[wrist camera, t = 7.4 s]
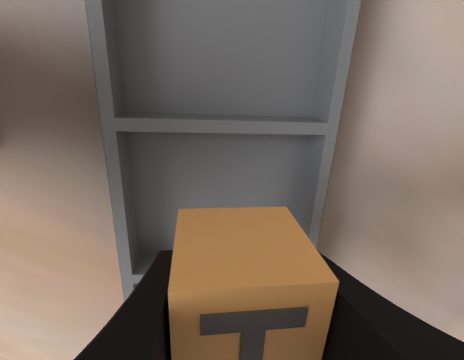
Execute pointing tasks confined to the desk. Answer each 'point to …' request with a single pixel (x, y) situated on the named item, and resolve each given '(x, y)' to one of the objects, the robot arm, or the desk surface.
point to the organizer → (216, 110)
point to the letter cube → (247, 287)
